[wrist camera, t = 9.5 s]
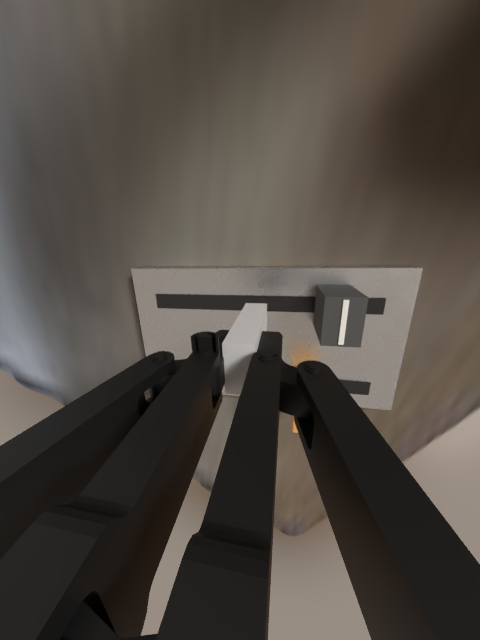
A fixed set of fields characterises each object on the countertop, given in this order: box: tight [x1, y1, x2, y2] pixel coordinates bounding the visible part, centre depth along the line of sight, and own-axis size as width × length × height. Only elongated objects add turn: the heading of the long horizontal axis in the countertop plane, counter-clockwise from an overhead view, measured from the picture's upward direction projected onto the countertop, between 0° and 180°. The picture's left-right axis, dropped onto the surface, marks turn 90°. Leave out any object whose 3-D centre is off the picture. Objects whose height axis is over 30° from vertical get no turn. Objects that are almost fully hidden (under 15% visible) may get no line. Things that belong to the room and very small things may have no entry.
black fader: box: [313, 285, 369, 348], centre depth 20 cm, size 4×3×5 cm
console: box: [131, 265, 423, 410], centre depth 26 cm, size 15×28×2 cm, turn 91°
